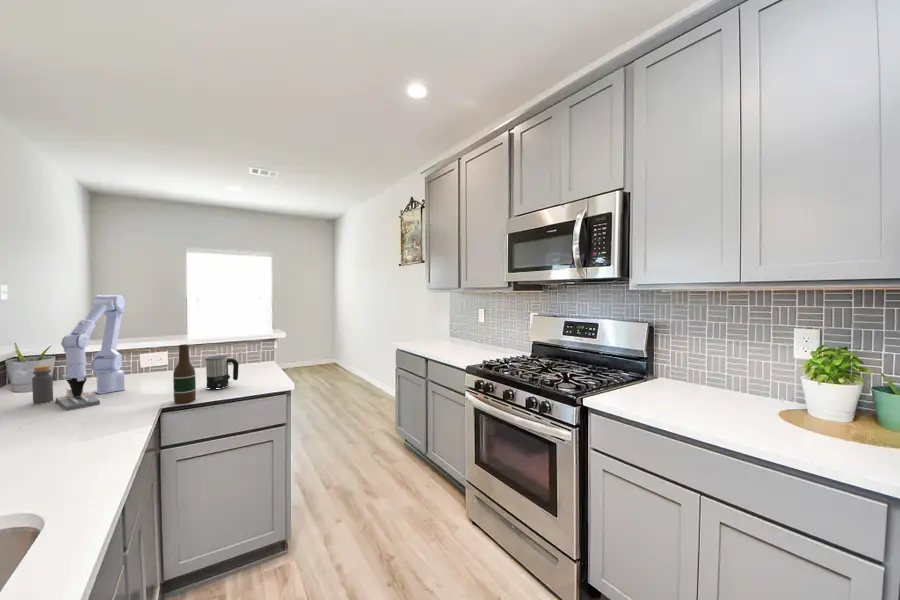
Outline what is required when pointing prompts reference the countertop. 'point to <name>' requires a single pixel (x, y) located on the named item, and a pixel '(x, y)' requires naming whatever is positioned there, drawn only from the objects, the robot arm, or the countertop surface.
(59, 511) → the countertop surface
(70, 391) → the fader tab
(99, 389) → the robot arm
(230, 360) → the milk frother
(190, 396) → the beer bottle
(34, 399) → the bottle
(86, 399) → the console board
